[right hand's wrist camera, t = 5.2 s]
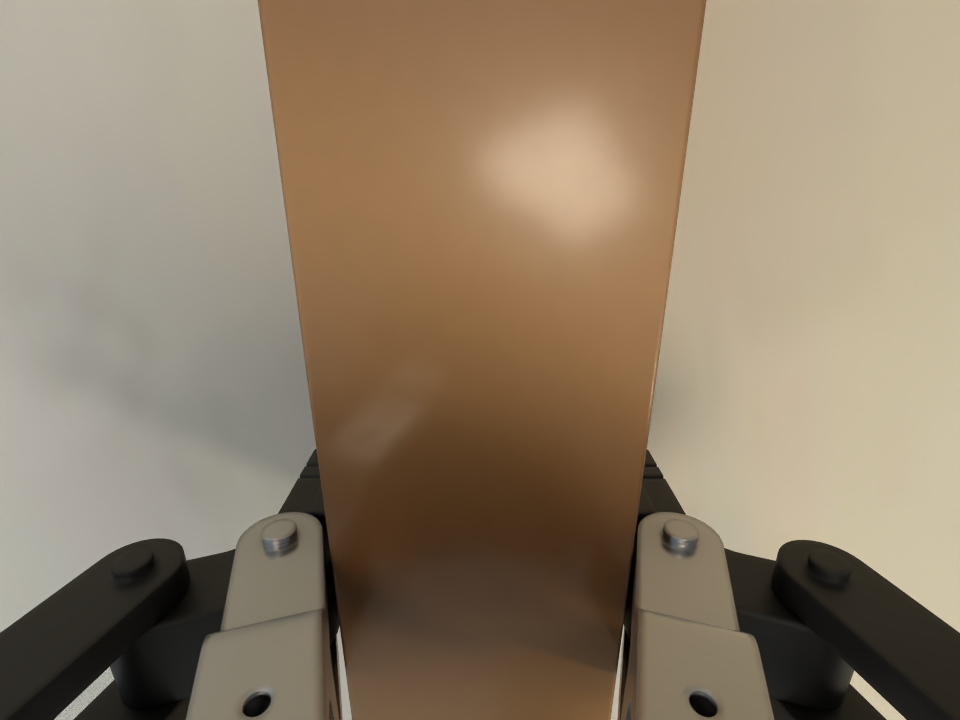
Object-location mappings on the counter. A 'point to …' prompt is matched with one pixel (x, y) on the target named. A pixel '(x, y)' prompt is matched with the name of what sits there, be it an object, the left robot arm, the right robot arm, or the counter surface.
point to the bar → (481, 327)
